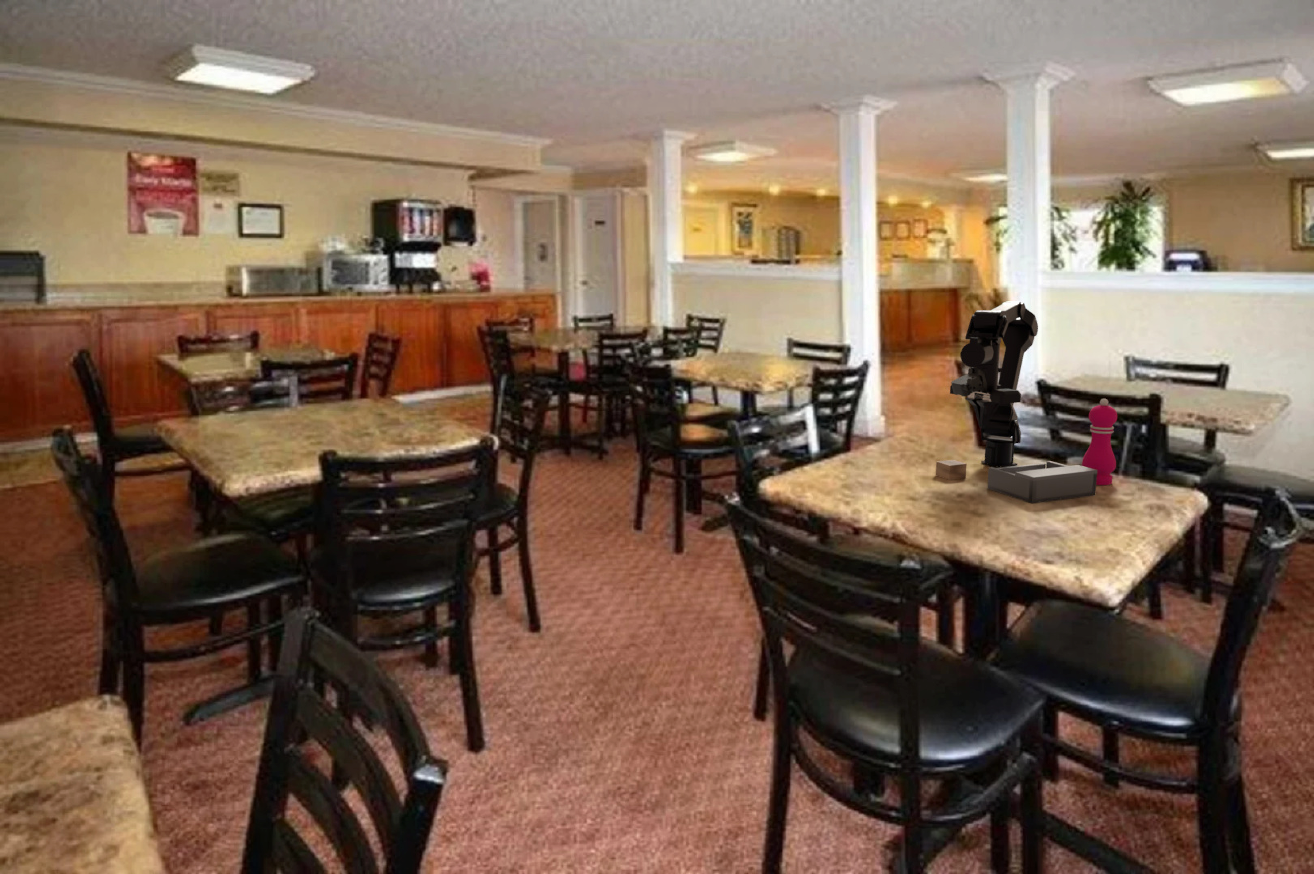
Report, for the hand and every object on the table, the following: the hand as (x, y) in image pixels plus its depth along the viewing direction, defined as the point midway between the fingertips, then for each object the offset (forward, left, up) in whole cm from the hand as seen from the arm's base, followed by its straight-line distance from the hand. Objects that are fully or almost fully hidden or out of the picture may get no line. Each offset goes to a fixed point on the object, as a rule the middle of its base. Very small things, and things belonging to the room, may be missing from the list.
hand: (982, 427), depth 222 cm
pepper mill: (-21, +16, -12) cm, 29 cm away
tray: (-2, +17, -11) cm, 20 cm away
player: (-2, +18, -12) cm, 22 cm away
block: (+7, -2, -12) cm, 14 cm away
